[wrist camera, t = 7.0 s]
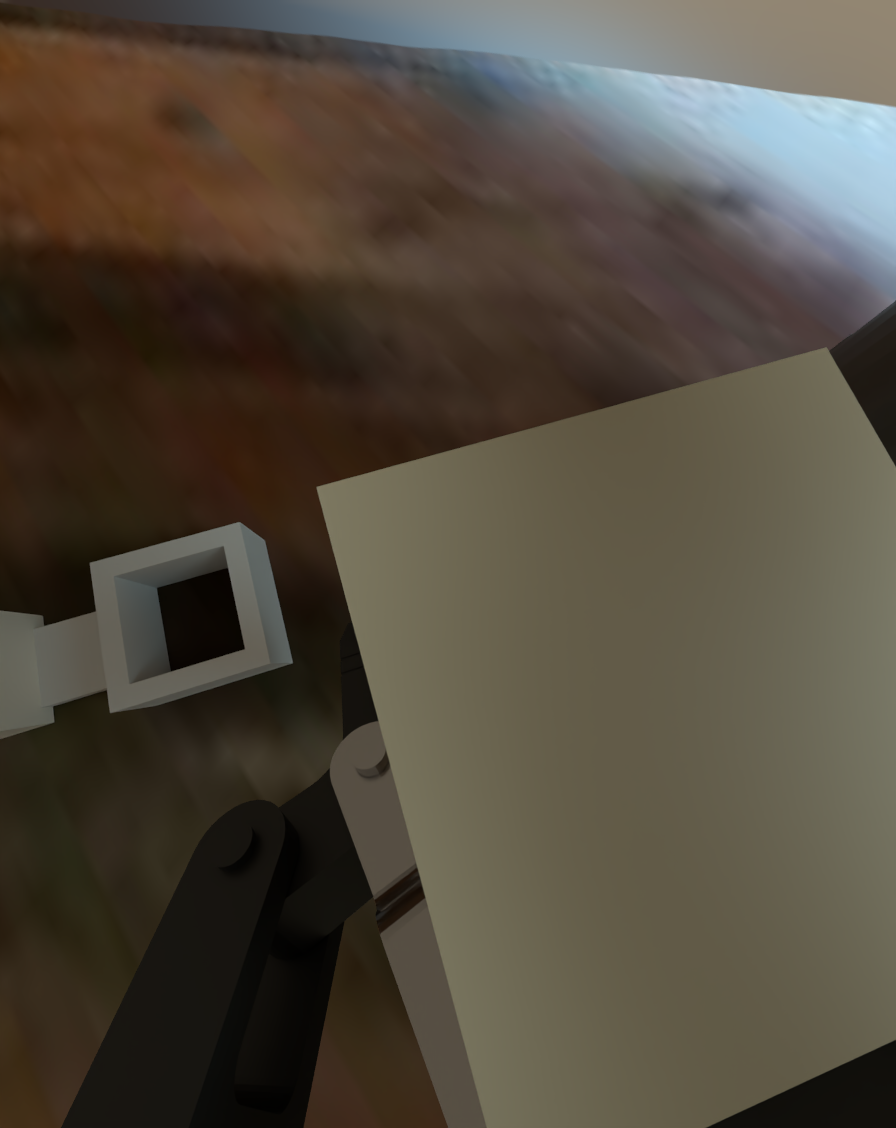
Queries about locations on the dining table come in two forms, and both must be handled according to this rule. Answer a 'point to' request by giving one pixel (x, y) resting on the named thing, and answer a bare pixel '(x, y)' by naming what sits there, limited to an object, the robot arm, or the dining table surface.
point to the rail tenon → (646, 740)
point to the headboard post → (139, 632)
